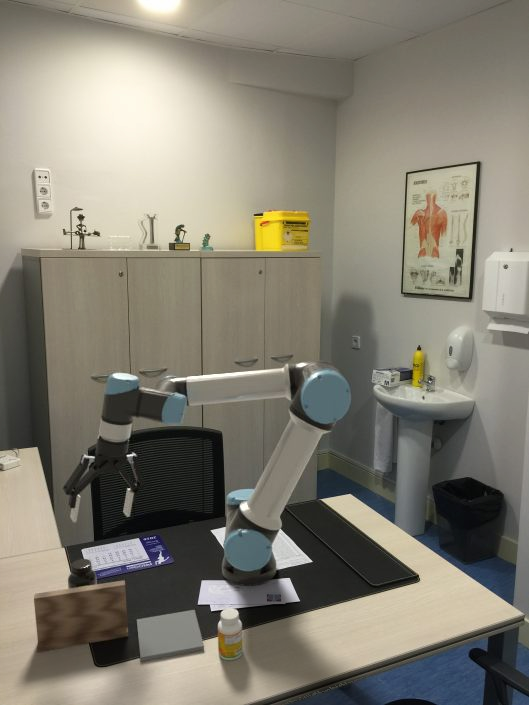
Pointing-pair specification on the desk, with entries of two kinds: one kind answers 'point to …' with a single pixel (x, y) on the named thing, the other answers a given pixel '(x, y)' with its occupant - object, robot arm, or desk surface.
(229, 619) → the supplement bottle
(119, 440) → the robot arm
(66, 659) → the desk surface
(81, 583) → the supplement bottle
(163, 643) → the slate mat
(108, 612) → the walnut screen
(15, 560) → the desk surface
